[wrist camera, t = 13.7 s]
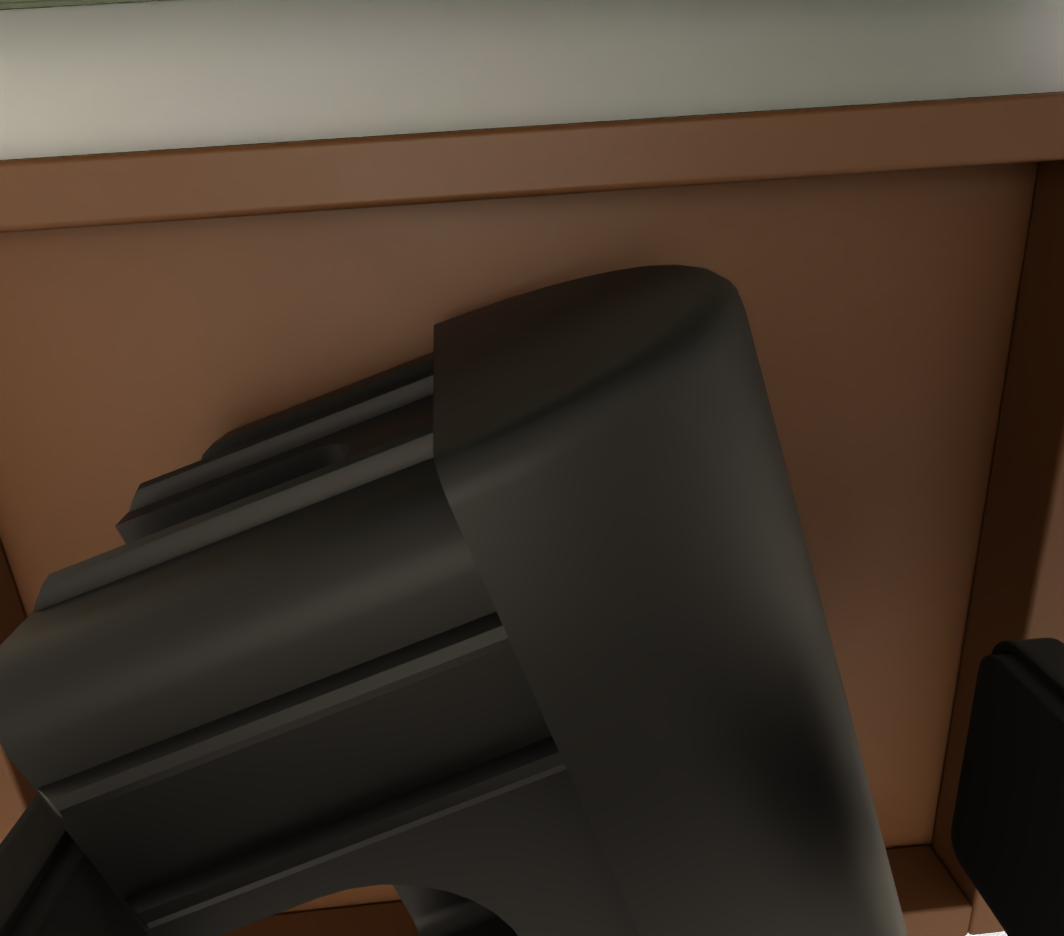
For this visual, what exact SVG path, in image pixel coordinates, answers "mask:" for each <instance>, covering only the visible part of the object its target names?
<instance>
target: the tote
mask: <svg viewBox="0 0 1064 936" xmlns="http://www.w3.org/2000/svg"><path fill="white" fill-rule="evenodd" d="M137 1H155V0H0V9H13V8H31V7H49V6H66V5H84V4H102V3H120V2H137Z"/></svg>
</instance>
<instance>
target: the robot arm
mask: <svg viewBox="0 0 1064 936" xmlns="http://www.w3.org/2000/svg"><path fill="white" fill-rule="evenodd" d="M951 840H952V845H953V849H954V852H955V855H956V857H957V860H958V861H959V863H960V865H961V867H962V868H963V870H964V871H965V873H966V874H967V876H968V877H969V879H970V880H971V882H972V883H973V885H974V886H975V888H976V889H977V890H978V892H979V893H980V895H981V896H982V898H983V899H984V901H985V902H986V904H987V905H988V907H989V908H990V910H991V911H992V913H993V914H994V916H995V917H996V919H997V920H998V922H999V923H1000V925H1001V926H1002V927H1003V929H1004V930H1005V932H1006V933H1007V935H1008V936H1064V643H1062V642H1061V641H1059V640H1058V639H1055V638H1049V637H1047V638H1035V639H1023V640H1011V641H1002V642H1000V643H997V644H996V646H995V647H994V648H993V650H992V653H991V655H988V656H985V657H984V658H983V659H982V660H981V662H980V665H979V669H978V675H977V681H976V686H975V692H974V698H973V704H972V710H971V716H970V721H969V727H968V733H967V739H966V745H965V750H964V756H963V762H962V768H961V774H960V779H959V785H958V791H957V797H956V803H955V809H954V814H953V820H952V826H951ZM0 936H148V934H147V933H146V932H145V931H144V929H143V928H142V927H141V925H140V924H139V923H138V922H137V920H136V919H135V918H134V917H133V915H132V914H131V913H130V911H129V910H128V909H127V908H126V906H125V905H124V904H123V902H122V901H121V900H120V899H119V897H118V896H117V895H116V894H115V892H114V891H113V890H112V888H111V887H110V886H109V885H108V883H107V882H106V881H105V879H104V878H103V877H102V876H101V874H100V873H99V872H98V870H97V869H96V868H95V867H94V865H93V864H92V863H91V862H90V860H89V859H88V858H87V856H86V855H85V854H84V853H83V851H82V850H81V849H80V847H79V846H78V845H77V844H76V842H75V841H74V840H73V839H72V837H71V836H70V835H69V833H68V832H67V831H66V830H65V828H64V827H63V826H62V824H61V823H60V822H59V821H58V819H57V818H56V817H55V815H54V814H53V813H52V812H51V810H50V809H49V808H48V807H47V805H46V804H45V803H44V801H43V800H42V799H41V798H40V796H39V795H38V794H37V795H36V796H35V797H34V799H33V800H32V802H31V803H30V804H29V806H28V807H27V808H26V810H25V811H24V812H23V814H22V815H21V817H20V818H19V819H18V821H17V822H16V823H15V825H14V826H13V828H12V829H11V830H10V832H9V833H8V834H7V836H6V837H5V838H4V840H3V841H2V843H1V844H0Z"/></svg>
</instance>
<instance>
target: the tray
mask: <svg viewBox="0 0 1064 936" xmlns="http://www.w3.org/2000/svg"><path fill="white" fill-rule="evenodd" d="M651 265H685V266H693V267H700V268H706V269H708V270H710V271H713V272H715V273H716V274H718V275H720V276H722V277H724V278H726V279H728V280H729V281H730V282H731V283H732V284H733V285H734V286H735V287H736V288H737V290H738V292H739V294H740V297H741V299H742V302H743V305H744V308H745V310H746V313H747V317H748V321H749V325H750V329H751V333H752V337H753V340H754V344H755V348H756V352H757V356H758V360H759V364H760V367H761V371H762V375H763V379H764V383H765V387H766V390H767V394H768V398H769V402H770V406H771V410H772V414H773V417H774V421H775V425H776V429H777V433H778V437H779V441H780V444H781V448H782V452H783V456H784V460H785V464H786V467H787V471H788V475H789V479H790V483H791V487H792V491H793V494H794V498H795V502H796V506H797V510H798V514H799V518H800V521H801V525H802V529H803V533H804V537H805V541H806V544H807V548H808V552H809V556H810V560H811V564H812V568H813V571H814V575H815V579H816V583H817V587H818V591H819V595H820V598H821V602H822V606H823V610H824V614H825V618H826V621H827V625H828V629H829V633H830V637H831V641H832V645H833V648H834V652H835V656H836V660H837V664H838V668H839V672H840V675H841V679H842V683H843V687H844V691H845V695H846V698H847V702H848V706H849V710H850V714H851V718H852V722H853V725H854V729H855V733H856V737H857V741H858V745H859V749H860V752H861V756H862V760H863V764H864V768H865V772H866V775H867V779H868V783H869V787H870V791H871V795H872V799H873V802H874V806H875V810H876V814H877V818H878V822H879V826H880V829H881V833H882V837H883V841H884V845H885V849H886V852H887V856H888V860H889V864H890V868H891V872H892V876H893V879H894V883H895V887H896V891H897V895H898V899H899V903H900V906H901V910H902V914H903V918H904V922H905V926H906V929H907V933H908V936H965V935H967V933H969V934H972V935H975V934H984V933H993V932H1001V931H1005V930H1004V929H1003V927H1002V926H1001V925H1000V923H999V922H998V920H997V919H996V917H995V916H994V914H993V913H992V911H991V910H990V908H989V907H988V905H987V904H986V902H985V901H984V899H983V898H982V896H981V895H980V893H979V892H978V890H977V889H976V888H975V886H974V885H973V883H972V882H971V880H970V879H969V877H968V876H967V874H966V873H965V871H964V870H963V868H962V867H961V865H960V863H959V861H958V860H957V857H956V855H955V852H954V849H953V845H952V840H951V826H952V820H953V814H954V809H955V803H956V797H957V791H958V785H959V779H960V774H961V768H962V762H963V756H964V750H965V745H966V739H967V733H968V727H969V721H970V716H971V710H972V704H973V698H974V692H975V686H976V681H977V675H978V669H979V665H980V662H981V660H982V659H983V658H984V657H985V656H988V655H991V653H992V650H993V648H994V647H995V646H996V644H997V643H1000V642H1002V641H1011V640H1023V639H1035V638H1047V637H1049V638H1055V639H1058V640H1059V641H1061V642H1062V643H1064V92H1048V93H1033V94H1017V95H1002V96H986V97H971V98H955V99H940V100H924V101H909V102H893V103H878V104H862V105H847V106H831V107H816V108H800V109H785V110H769V111H754V112H738V113H723V114H708V115H692V116H677V117H661V118H646V119H630V120H615V121H599V122H584V123H568V124H553V125H537V126H522V127H506V128H491V129H475V130H460V131H444V132H429V133H413V134H398V135H382V136H367V137H351V138H336V139H320V140H305V141H289V142H274V143H258V144H243V145H227V146H212V147H196V148H181V149H165V150H150V151H134V152H119V153H103V154H88V155H72V156H57V157H41V158H26V159H10V160H0V646H1V644H2V643H3V642H4V641H5V640H6V639H7V638H8V637H9V636H10V635H11V634H12V633H13V632H14V630H15V629H16V628H17V627H18V626H19V625H20V624H21V623H22V622H23V621H24V620H25V619H26V618H27V617H28V616H29V615H30V614H31V613H32V612H33V610H34V606H35V603H36V599H37V597H38V594H39V592H40V589H41V587H42V584H43V583H44V581H45V580H46V578H47V577H48V575H49V574H51V573H53V572H56V571H58V570H61V569H63V568H66V567H69V566H71V565H74V564H76V563H79V562H81V561H84V560H87V559H89V558H92V557H94V556H97V555H99V554H102V553H105V552H107V551H110V550H112V549H115V548H117V547H120V546H123V545H125V544H126V543H125V542H124V540H123V538H122V537H121V535H120V534H119V532H118V530H117V529H116V527H115V525H116V524H117V523H118V522H119V521H120V520H121V519H122V518H123V517H124V516H125V515H126V514H127V513H128V512H129V510H130V507H131V503H132V500H133V498H134V496H135V493H136V491H137V489H138V487H139V486H140V484H141V483H143V482H146V481H149V480H151V479H154V478H156V477H159V476H161V475H164V474H166V473H169V472H172V471H174V470H177V469H179V468H182V467H184V466H187V465H190V464H192V463H195V462H197V461H200V460H201V458H202V456H203V454H204V453H205V452H206V450H207V449H208V448H209V447H210V446H211V445H212V444H213V443H214V442H215V441H217V440H218V439H219V438H221V437H222V436H224V435H225V434H226V433H228V432H229V431H232V430H234V429H237V428H240V427H242V426H245V425H247V424H250V423H252V422H255V421H258V420H260V419H263V418H265V417H268V416H270V415H273V414H276V413H278V412H281V411H283V410H286V409H288V408H291V407H294V406H296V405H299V404H301V403H304V402H306V401H309V400H312V399H314V398H317V397H319V396H322V395H324V394H327V393H330V392H332V391H335V390H337V389H340V388H342V387H345V386H347V385H350V384H353V383H355V382H358V381H360V380H363V379H365V378H368V377H371V376H373V375H376V374H378V373H381V372H383V371H386V370H389V369H391V368H394V367H396V366H399V365H401V364H404V363H407V362H409V361H412V360H414V359H417V358H419V357H422V356H425V355H427V354H430V353H432V352H434V325H435V324H438V323H440V322H443V321H446V320H448V319H451V318H454V317H456V316H459V315H462V314H464V313H467V312H470V311H473V310H476V309H478V308H481V307H484V306H487V305H490V304H493V303H496V302H499V301H502V300H505V299H508V298H511V297H514V296H518V295H521V294H524V293H527V292H531V291H534V290H537V289H541V288H544V287H547V286H551V285H555V284H559V283H563V282H567V281H570V280H574V279H578V278H582V277H586V276H591V275H596V274H601V273H605V272H610V271H615V270H621V269H628V268H635V267H642V266H651ZM36 795H37V792H36V791H35V790H34V789H33V787H32V786H31V785H30V784H29V782H28V781H27V780H26V778H25V777H24V776H23V775H22V773H21V772H20V771H19V769H18V768H17V767H16V766H15V764H14V763H13V762H12V760H11V759H10V758H9V757H8V755H7V754H6V752H5V751H4V749H3V747H2V745H1V744H0V844H1V843H2V841H3V840H4V838H5V837H6V836H7V834H8V833H9V832H10V830H11V829H12V828H13V826H14V825H15V823H16V822H17V821H18V819H19V818H20V817H21V815H22V814H23V812H24V811H25V810H26V808H27V807H28V806H29V804H30V803H31V802H32V800H33V799H34V797H35V796H36ZM220 936H418V932H417V928H416V926H415V923H414V921H413V919H412V917H411V915H410V913H409V912H408V910H407V908H406V907H405V905H404V903H403V902H402V900H401V898H400V896H399V895H398V893H397V891H396V890H395V888H394V886H393V885H375V886H368V887H361V888H353V889H347V890H344V891H340V892H337V893H334V894H330V895H327V896H324V897H320V898H317V899H314V900H312V901H309V902H306V903H304V904H301V905H299V906H296V907H293V908H291V909H288V910H285V911H283V912H280V913H278V914H275V915H272V916H270V917H267V918H265V919H262V920H259V921H257V922H254V923H251V924H249V925H246V926H244V927H241V928H238V929H236V930H233V931H231V932H228V933H225V934H223V935H220Z"/></svg>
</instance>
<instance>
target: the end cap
mask: <svg viewBox="0 0 1064 936" xmlns="http://www.w3.org/2000/svg"><path fill="white" fill-rule="evenodd" d="M115 527H116V529H117V530H118V532H119V534H120V535H121V537H122V538H123V540H124V542H125V543H126V544H125V545H123V546H120V547H117V548H115V549H112V550H110V551H107V552H105V553H102V554H99V555H97V556H94V557H92V558H89V559H87V560H84V561H81V562H79V563H76V564H74V565H71V566H69V567H66V568H63V569H61V570H58V571H56V572H53V573H51V574H49V575H48V577H47V578H46V580H45V581H44V583H43V584H42V587H41V589H40V592H39V594H38V597H37V599H36V603H35V606H34V610H33V612H32V613H31V614H30V615H29V616H28V617H27V618H26V619H25V620H24V621H23V622H22V623H21V624H20V625H19V626H18V627H17V628H16V629H15V630H14V632H13V633H12V634H11V635H10V636H9V637H8V638H7V639H6V640H5V641H4V642H3V643H2V644H1V646H0V744H1V745H2V747H3V749H4V751H5V752H6V754H7V755H8V757H9V758H10V759H11V760H12V762H13V763H14V764H15V766H16V767H17V768H18V769H19V771H20V772H21V773H22V775H23V776H24V777H25V778H26V780H27V781H28V782H29V784H30V785H31V786H32V787H33V789H34V790H35V791H36V792H37V794H38V795H39V796H40V798H41V799H42V800H43V801H44V803H45V804H46V805H47V807H48V808H49V809H50V810H51V812H52V813H53V814H54V815H55V817H56V818H57V819H58V821H59V822H60V823H61V824H62V826H63V827H64V828H65V830H66V831H67V832H68V833H69V835H70V836H71V837H72V839H73V840H74V841H75V842H76V844H77V845H78V846H79V847H80V849H81V850H82V851H83V853H84V854H85V855H86V856H87V858H88V859H89V860H90V862H91V863H92V864H93V865H94V867H95V868H96V869H97V870H98V872H99V873H100V874H101V876H102V877H103V878H104V879H105V881H106V882H107V883H108V885H109V886H110V887H111V888H112V890H113V891H114V892H115V894H116V895H117V896H118V897H119V899H120V900H121V901H122V902H123V904H124V905H125V906H126V908H127V909H128V910H129V911H130V913H131V914H132V915H133V917H134V918H135V919H136V920H137V922H138V923H139V924H140V925H141V927H142V928H143V929H144V931H145V932H146V933H147V934H148V936H220V935H223V934H225V933H228V932H231V931H233V930H236V929H238V928H241V927H244V926H246V925H249V924H251V923H254V922H257V921H259V920H262V919H265V918H267V917H270V916H272V915H275V914H278V913H280V912H283V911H285V910H288V909H291V908H293V907H296V906H299V905H301V904H304V903H306V902H309V901H312V900H314V899H317V898H320V897H324V896H327V895H330V894H334V893H337V892H340V891H344V890H347V889H353V888H361V887H368V886H375V885H393V886H394V888H395V890H396V891H397V893H398V895H399V896H400V898H401V900H402V902H403V903H404V905H405V907H406V908H407V910H408V912H409V913H410V915H411V917H412V919H413V921H414V923H415V926H416V928H417V932H418V936H908V933H907V929H906V926H905V922H904V918H903V914H902V910H901V906H900V903H899V899H898V895H897V891H896V887H895V883H894V879H893V876H892V872H891V868H890V864H889V860H888V856H887V852H886V849H885V845H884V841H883V837H882V833H881V829H880V826H879V822H878V818H877V814H876V810H875V806H874V802H873V799H872V795H871V791H870V787H869V783H868V779H867V775H866V772H865V768H864V764H863V760H862V756H861V752H860V749H859V745H858V741H857V737H856V733H855V729H854V725H853V722H852V718H851V714H850V710H849V706H848V702H847V698H846V695H845V691H844V687H843V683H842V679H841V675H840V672H839V668H838V664H837V660H836V656H835V652H834V648H833V645H832V641H831V637H830V633H829V629H828V625H827V621H826V618H825V614H824V610H823V606H822V602H821V598H820V595H819V591H818V587H817V583H816V579H815V575H814V571H813V568H812V564H811V560H810V556H809V552H808V548H807V544H806V541H805V537H804V533H803V529H802V525H801V521H800V518H799V514H798V510H797V506H796V502H795V498H794V494H793V491H792V487H791V483H790V479H789V475H788V471H787V467H786V464H785V460H784V456H783V452H782V448H781V444H780V441H779V437H778V433H777V429H776V425H775V421H774V417H773V414H772V410H771V406H770V402H769V398H768V394H767V390H766V387H765V383H764V379H763V375H762V371H761V367H760V364H759V360H758V356H757V352H756V348H755V344H754V340H753V337H752V333H751V329H750V325H749V321H748V317H747V313H746V310H745V308H744V305H743V302H742V299H741V297H740V294H739V292H738V290H737V288H736V287H735V286H734V285H733V284H732V283H731V282H730V281H729V280H728V279H726V278H724V277H722V276H720V275H718V274H716V273H715V272H713V271H710V270H708V269H706V268H700V267H693V266H685V265H651V266H642V267H635V268H628V269H621V270H615V271H610V272H605V273H601V274H596V275H591V276H586V277H582V278H578V279H574V280H570V281H567V282H563V283H559V284H555V285H551V286H547V287H544V288H541V289H537V290H534V291H531V292H527V293H524V294H521V295H518V296H514V297H511V298H508V299H505V300H502V301H499V302H496V303H493V304H490V305H487V306H484V307H481V308H478V309H476V310H473V311H470V312H467V313H464V314H462V315H459V316H456V317H454V318H451V319H448V320H446V321H443V322H440V323H438V324H435V325H434V352H432V353H430V354H427V355H425V356H422V357H419V358H417V359H414V360H412V361H409V362H407V363H404V364H401V365H399V366H396V367H394V368H391V369H389V370H386V371H383V372H381V373H378V374H376V375H373V376H371V377H368V378H365V379H363V380H360V381H358V382H355V383H353V384H350V385H347V386H345V387H342V388H340V389H337V390H335V391H332V392H330V393H327V394H324V395H322V396H319V397H317V398H314V399H312V400H309V401H306V402H304V403H301V404H299V405H296V406H294V407H291V408H288V409H286V410H283V411H281V412H278V413H276V414H273V415H270V416H268V417H265V418H263V419H260V420H258V421H255V422H252V423H250V424H247V425H245V426H242V427H240V428H237V429H234V430H232V431H229V432H228V433H226V434H225V435H224V436H222V437H221V438H219V439H218V440H217V441H215V442H214V443H213V444H212V445H211V446H210V447H209V448H208V449H207V450H206V452H205V453H204V454H203V456H202V458H201V460H200V461H197V462H195V463H192V464H190V465H187V466H184V467H182V468H179V469H177V470H174V471H172V472H169V473H166V474H164V475H161V476H159V477H156V478H154V479H151V480H149V481H146V482H143V483H141V484H140V486H139V487H138V489H137V491H136V493H135V496H134V498H133V500H132V503H131V507H130V510H129V512H128V513H127V514H126V515H125V516H124V517H123V518H122V519H121V520H120V521H119V522H118V523H117V524H116V525H115Z"/></svg>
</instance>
